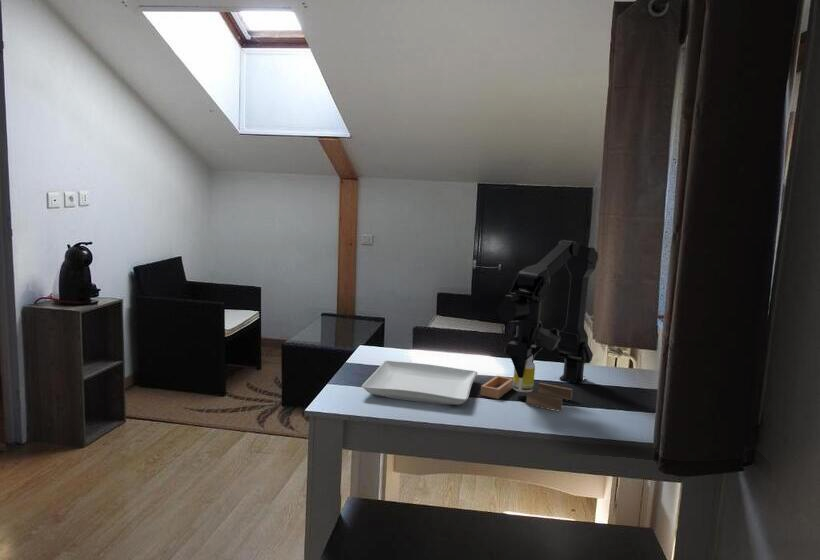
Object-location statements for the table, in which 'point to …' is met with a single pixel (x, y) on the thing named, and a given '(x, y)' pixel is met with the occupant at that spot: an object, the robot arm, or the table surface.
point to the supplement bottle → (525, 378)
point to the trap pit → (497, 387)
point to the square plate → (421, 382)
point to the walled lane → (547, 400)
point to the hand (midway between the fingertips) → (523, 375)
